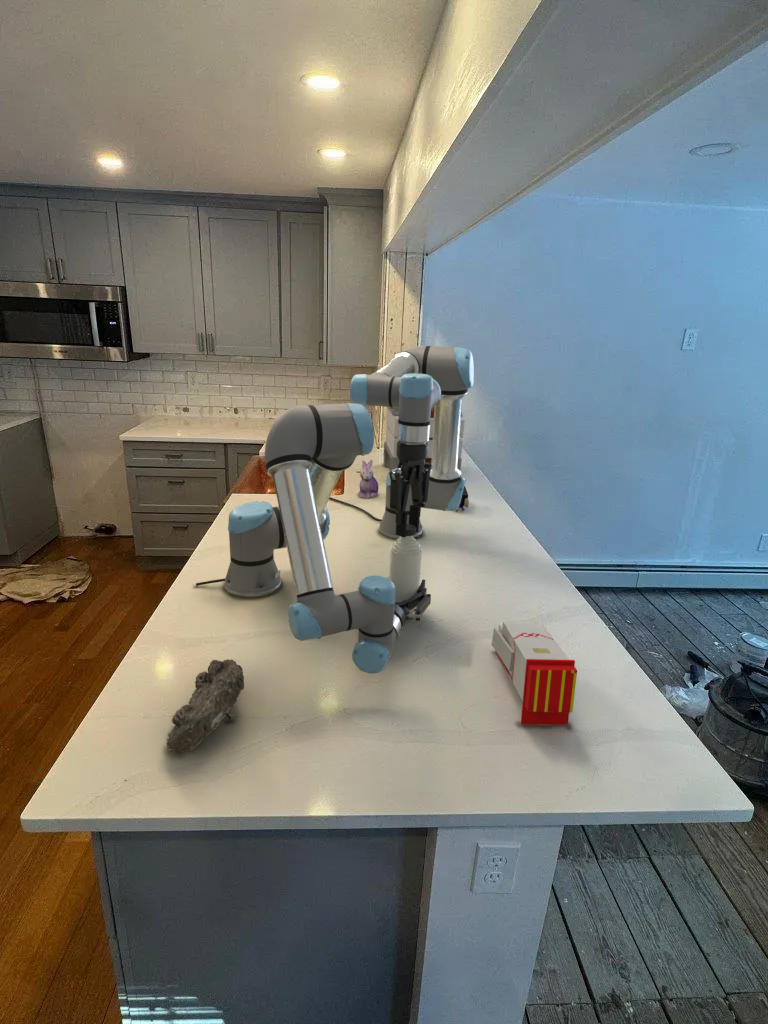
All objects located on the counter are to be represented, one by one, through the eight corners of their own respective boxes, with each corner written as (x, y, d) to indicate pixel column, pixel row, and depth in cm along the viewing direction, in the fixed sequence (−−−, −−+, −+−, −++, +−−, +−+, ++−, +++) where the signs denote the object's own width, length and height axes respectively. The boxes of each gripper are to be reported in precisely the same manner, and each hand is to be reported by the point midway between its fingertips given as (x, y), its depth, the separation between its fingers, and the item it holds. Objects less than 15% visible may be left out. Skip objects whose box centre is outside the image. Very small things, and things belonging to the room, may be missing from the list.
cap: (395, 533, 141) (395, 527, 140) (403, 528, 144) (403, 522, 144) (411, 537, 139) (411, 531, 138) (418, 532, 142) (419, 526, 142)
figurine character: (468, 516, 224) (463, 500, 237) (471, 498, 221) (465, 483, 234) (452, 515, 224) (447, 499, 237) (453, 498, 220) (449, 482, 234)
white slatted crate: (382, 463, 289) (386, 382, 275) (445, 464, 293) (451, 384, 279) (390, 482, 257) (394, 392, 243) (460, 483, 261) (468, 394, 247)
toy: (538, 606, 134) (586, 666, 105) (533, 659, 137) (578, 731, 108) (487, 605, 134) (521, 665, 105) (483, 658, 137) (515, 730, 107)
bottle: (419, 606, 152) (425, 525, 144) (414, 620, 145) (420, 536, 137) (391, 601, 154) (395, 521, 146) (384, 615, 146) (388, 532, 138)
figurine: (363, 499, 233) (364, 464, 228) (353, 492, 242) (354, 458, 236) (383, 497, 237) (385, 462, 232) (373, 490, 246) (374, 456, 241)
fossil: (192, 660, 117) (244, 628, 112) (224, 691, 120) (276, 661, 115) (142, 746, 98) (202, 712, 93) (182, 779, 101) (242, 748, 96)
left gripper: (343, 630, 134) (370, 588, 155) (429, 646, 129) (445, 600, 150) (343, 602, 132) (371, 563, 152) (431, 617, 127) (447, 574, 148)
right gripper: (423, 434, 142) (417, 521, 150) (376, 443, 130) (372, 537, 138) (447, 439, 137) (440, 528, 145) (401, 449, 125) (395, 546, 133)
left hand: (407, 581), depth 151 cm, fingers closed on bottle, 8 cm apart
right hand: (407, 533), depth 142 cm, fingers closed on cap, 4 cm apart
